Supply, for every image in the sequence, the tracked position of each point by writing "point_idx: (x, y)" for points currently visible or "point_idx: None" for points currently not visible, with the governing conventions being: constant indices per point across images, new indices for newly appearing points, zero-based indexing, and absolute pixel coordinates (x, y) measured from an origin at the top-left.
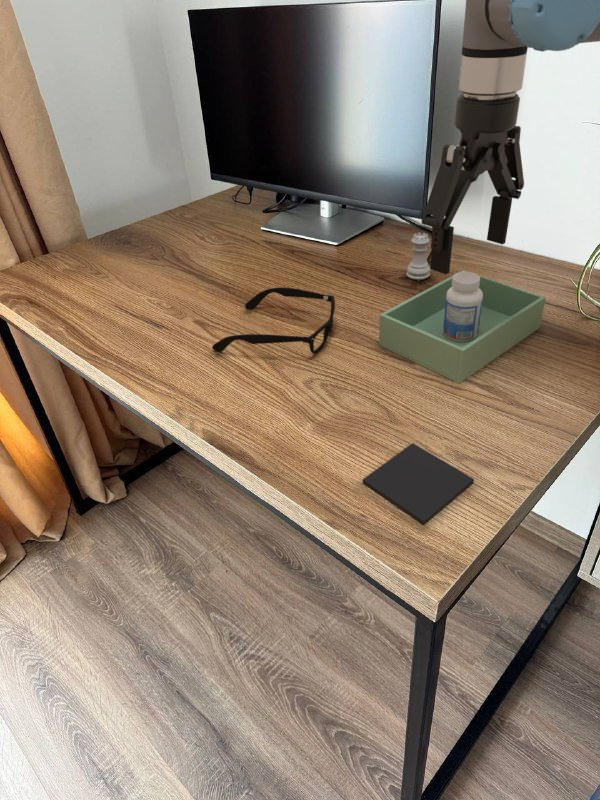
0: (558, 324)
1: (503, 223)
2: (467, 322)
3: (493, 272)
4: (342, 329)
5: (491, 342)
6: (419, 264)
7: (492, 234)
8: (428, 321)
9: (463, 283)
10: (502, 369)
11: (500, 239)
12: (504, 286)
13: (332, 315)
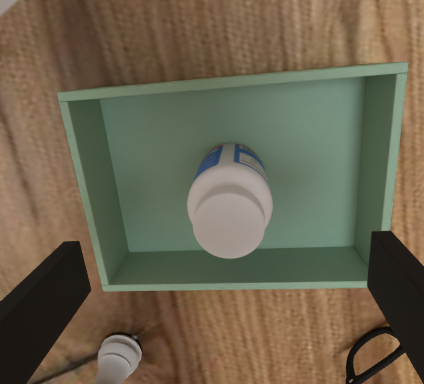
0: (52, 71)
1: (41, 289)
2: (253, 159)
3: (7, 273)
4: (356, 320)
5: (278, 72)
6: (121, 364)
7: (76, 289)
8: None
9: (260, 212)
10: (270, 38)
11: (74, 256)
12: (88, 192)
13: (403, 349)
